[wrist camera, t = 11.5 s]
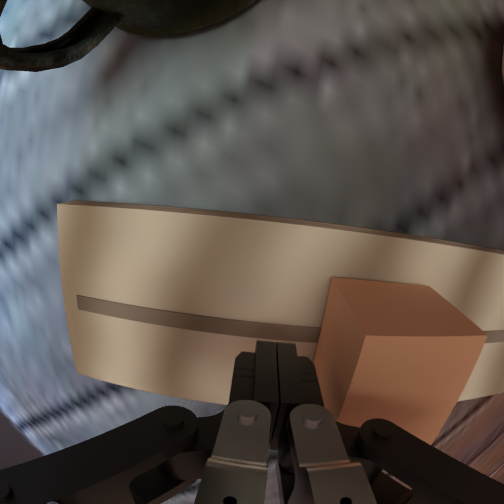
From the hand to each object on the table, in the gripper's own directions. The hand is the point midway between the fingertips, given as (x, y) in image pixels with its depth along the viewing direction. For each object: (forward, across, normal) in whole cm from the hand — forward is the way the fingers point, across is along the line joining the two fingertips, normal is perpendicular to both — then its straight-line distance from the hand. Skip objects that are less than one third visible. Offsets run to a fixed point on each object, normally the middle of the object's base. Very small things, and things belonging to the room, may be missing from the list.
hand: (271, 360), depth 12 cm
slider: (+2, -5, 0) cm, 5 cm away
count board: (+4, -4, 0) cm, 6 cm away
